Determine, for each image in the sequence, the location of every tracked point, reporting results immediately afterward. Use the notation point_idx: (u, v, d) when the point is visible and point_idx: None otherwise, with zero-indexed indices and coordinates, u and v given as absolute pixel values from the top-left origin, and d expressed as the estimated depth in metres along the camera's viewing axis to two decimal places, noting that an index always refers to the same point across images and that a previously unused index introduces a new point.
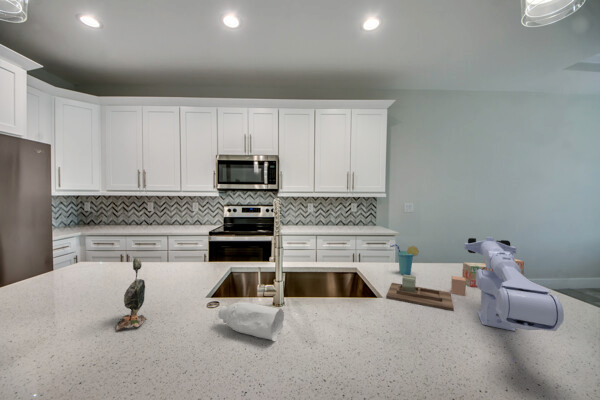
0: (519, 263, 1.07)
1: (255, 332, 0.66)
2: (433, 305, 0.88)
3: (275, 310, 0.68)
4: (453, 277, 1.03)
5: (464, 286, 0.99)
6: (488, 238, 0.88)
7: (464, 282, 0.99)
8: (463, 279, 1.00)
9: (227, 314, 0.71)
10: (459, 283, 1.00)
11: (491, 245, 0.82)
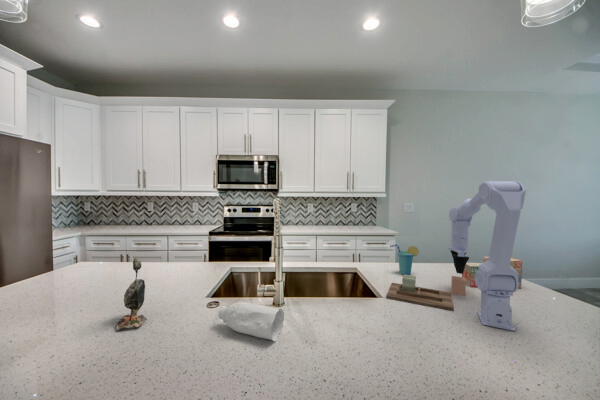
0: (518, 263, 1.07)
1: (256, 332, 0.66)
2: (433, 305, 0.88)
3: (275, 310, 0.68)
4: (453, 277, 1.03)
5: (464, 286, 0.99)
6: (448, 247, 1.03)
7: (464, 282, 0.99)
8: (463, 279, 1.00)
9: (227, 314, 0.70)
10: (459, 283, 1.00)
11: None
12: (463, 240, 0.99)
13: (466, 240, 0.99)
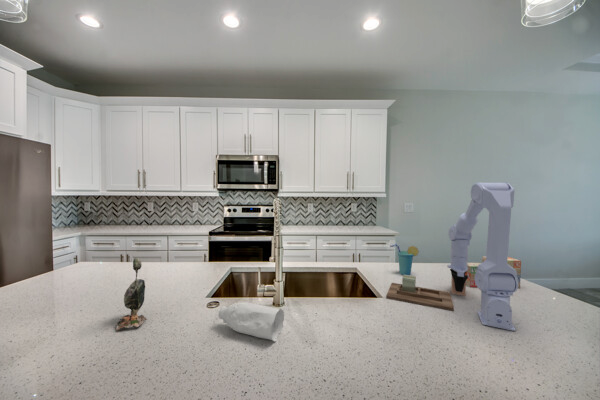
0: (517, 262, 1.08)
1: (256, 332, 0.66)
2: (433, 305, 0.88)
3: (275, 310, 0.68)
4: None
5: (464, 286, 0.99)
6: (448, 266, 1.03)
7: None
8: None
9: (227, 314, 0.70)
10: None
11: None
12: (462, 259, 0.99)
13: (465, 259, 0.99)
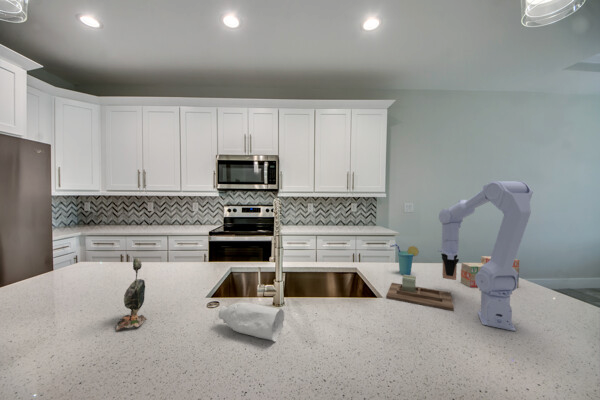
0: (515, 262, 1.08)
1: (256, 332, 0.66)
2: (433, 305, 0.88)
3: (275, 310, 0.68)
4: None
5: (455, 270, 0.97)
6: (439, 250, 1.01)
7: (455, 266, 0.97)
8: None
9: (227, 314, 0.70)
10: None
11: None
12: (453, 243, 0.97)
13: (456, 243, 0.97)
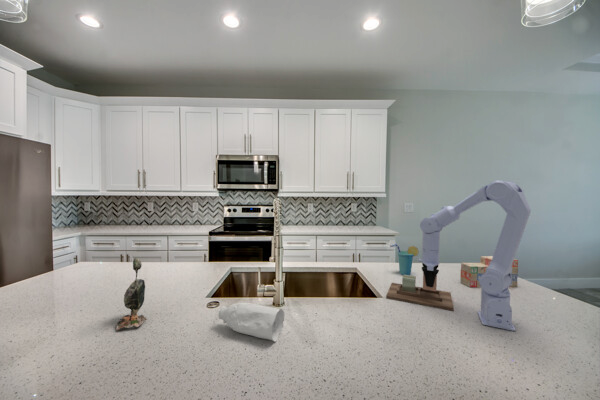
0: (514, 262, 1.09)
1: (256, 332, 0.66)
2: (433, 305, 0.88)
3: (276, 310, 0.68)
4: None
5: (435, 281, 0.93)
6: (419, 260, 0.97)
7: None
8: None
9: (227, 314, 0.70)
10: None
11: None
12: (433, 252, 0.93)
13: (437, 252, 0.93)
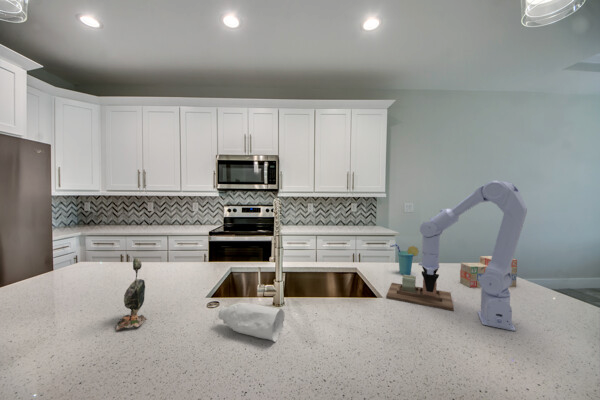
0: (513, 261, 1.09)
1: (256, 332, 0.66)
2: (433, 305, 0.88)
3: (276, 310, 0.68)
4: None
5: (435, 288, 0.93)
6: (419, 263, 0.97)
7: (435, 284, 0.93)
8: None
9: (227, 315, 0.70)
10: None
11: None
12: (433, 256, 0.93)
13: (437, 256, 0.93)
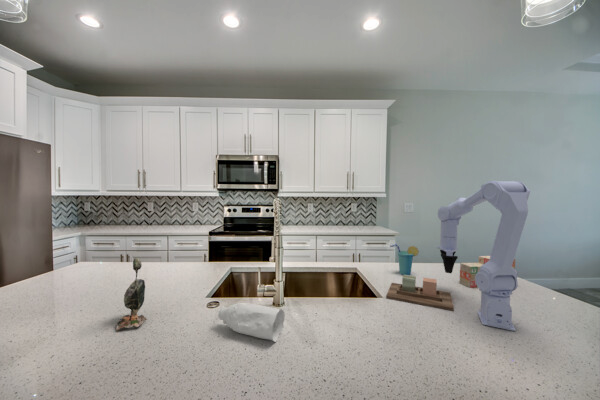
0: None
1: (256, 332, 0.66)
2: (433, 305, 0.88)
3: (276, 310, 0.68)
4: (424, 279, 0.97)
5: (435, 288, 0.93)
6: (437, 247, 1.02)
7: (435, 284, 0.93)
8: (434, 281, 0.94)
9: (227, 315, 0.70)
10: (430, 285, 0.94)
11: None
12: (452, 239, 0.98)
13: (455, 239, 0.98)
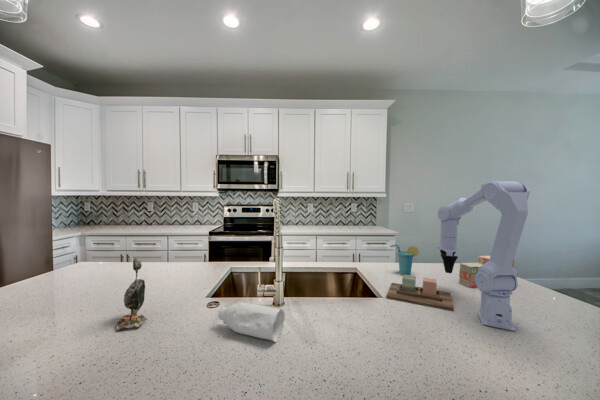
0: None
1: (256, 333, 0.66)
2: (433, 305, 0.88)
3: (276, 311, 0.67)
4: (424, 279, 0.97)
5: (435, 288, 0.93)
6: (437, 247, 1.02)
7: (435, 284, 0.93)
8: (434, 281, 0.94)
9: (227, 315, 0.70)
10: (430, 285, 0.94)
11: None
12: (452, 239, 0.98)
13: (455, 239, 0.98)
